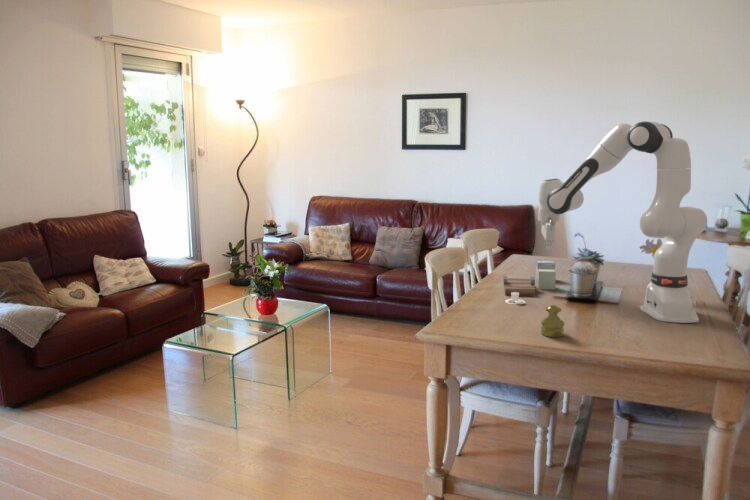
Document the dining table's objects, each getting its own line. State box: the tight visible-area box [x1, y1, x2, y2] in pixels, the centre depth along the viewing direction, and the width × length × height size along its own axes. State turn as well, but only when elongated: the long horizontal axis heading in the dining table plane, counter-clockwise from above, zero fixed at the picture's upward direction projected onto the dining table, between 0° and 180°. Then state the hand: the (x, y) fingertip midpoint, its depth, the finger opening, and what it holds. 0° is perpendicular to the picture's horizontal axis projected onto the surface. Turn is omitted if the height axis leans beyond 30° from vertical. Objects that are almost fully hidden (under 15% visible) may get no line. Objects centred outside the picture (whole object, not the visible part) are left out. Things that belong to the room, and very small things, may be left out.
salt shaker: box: [540, 304, 565, 338], centre depth 193 cm, size 7×7×10 cm
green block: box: [537, 269, 556, 290], centre depth 253 cm, size 4×7×8 cm, turn 79°
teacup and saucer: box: [504, 292, 526, 306], centre depth 232 cm, size 9×8×4 cm
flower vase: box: [639, 238, 663, 288], centre depth 234 cm, size 12×18×24 cm
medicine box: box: [535, 260, 556, 282], centre depth 267 cm, size 8×4×9 cm, turn 84°
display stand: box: [502, 275, 536, 297], centre depth 250 cm, size 18×13×6 cm
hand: (547, 248), depth 250 cm, fingers open, 8 cm apart
